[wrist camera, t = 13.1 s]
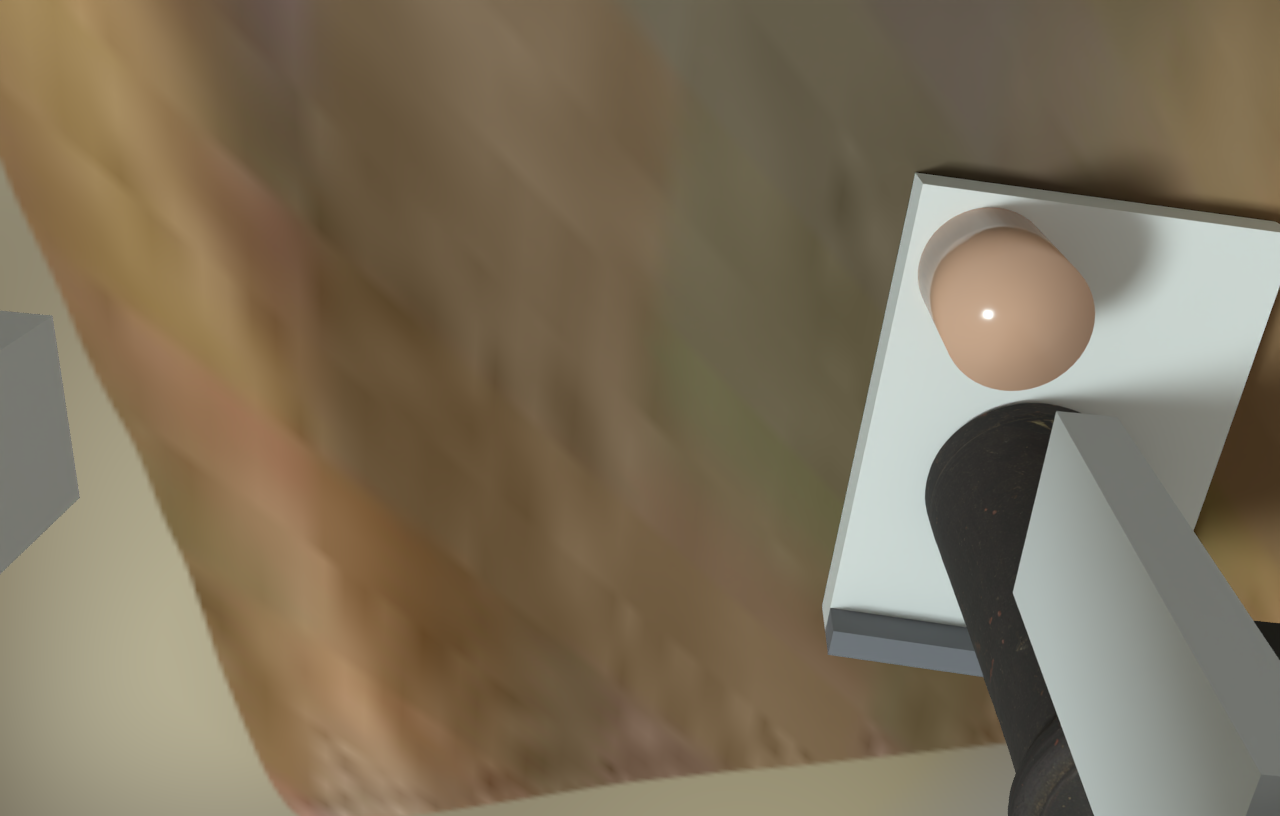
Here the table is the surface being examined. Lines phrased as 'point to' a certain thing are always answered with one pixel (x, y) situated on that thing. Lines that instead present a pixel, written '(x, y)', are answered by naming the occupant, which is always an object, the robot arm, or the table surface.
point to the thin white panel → (1043, 390)
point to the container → (1004, 590)
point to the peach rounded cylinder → (1004, 299)
